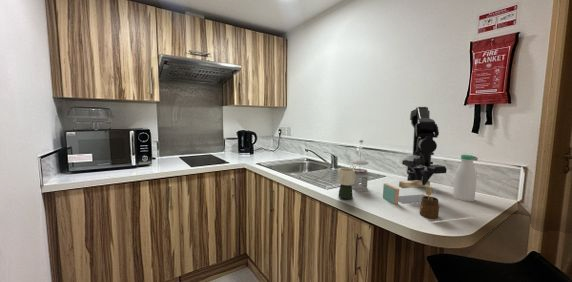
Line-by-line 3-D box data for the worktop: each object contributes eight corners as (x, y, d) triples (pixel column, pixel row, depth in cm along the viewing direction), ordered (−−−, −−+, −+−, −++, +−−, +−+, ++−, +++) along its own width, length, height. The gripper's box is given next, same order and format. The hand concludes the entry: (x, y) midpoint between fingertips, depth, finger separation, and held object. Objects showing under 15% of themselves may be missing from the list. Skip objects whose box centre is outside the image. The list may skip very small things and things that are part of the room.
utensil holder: (439, 216, 85) (442, 185, 84) (435, 221, 81) (438, 188, 79) (422, 211, 89) (424, 181, 88) (416, 216, 85) (419, 185, 84)
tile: (385, 198, 104) (386, 183, 103) (398, 205, 96) (399, 188, 95) (382, 198, 103) (383, 183, 102) (394, 205, 95) (395, 189, 95)
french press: (373, 190, 114) (376, 140, 111) (356, 193, 109) (358, 141, 106) (359, 185, 123) (361, 138, 120) (342, 187, 117) (344, 139, 115)
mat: (423, 195, 108) (423, 194, 108) (437, 201, 101) (437, 200, 100) (389, 197, 104) (390, 196, 104) (402, 204, 96) (402, 203, 96)
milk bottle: (478, 203, 99) (483, 157, 97) (457, 201, 101) (462, 156, 99) (468, 196, 107) (473, 154, 104) (449, 195, 108) (453, 153, 106)
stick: (425, 184, 105) (425, 179, 104) (429, 186, 102) (430, 181, 102) (398, 186, 101) (399, 181, 101) (402, 188, 99) (403, 182, 99)
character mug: (343, 193, 110) (344, 166, 108) (357, 196, 105) (359, 168, 104) (332, 199, 101) (333, 170, 100) (347, 203, 97) (349, 173, 95)
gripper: (393, 147, 108) (391, 179, 110) (426, 153, 90) (423, 192, 92) (413, 146, 110) (411, 178, 112) (449, 153, 92) (445, 190, 94)
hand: (421, 184), depth 103 cm, fingers closed on stick, 2 cm apart
